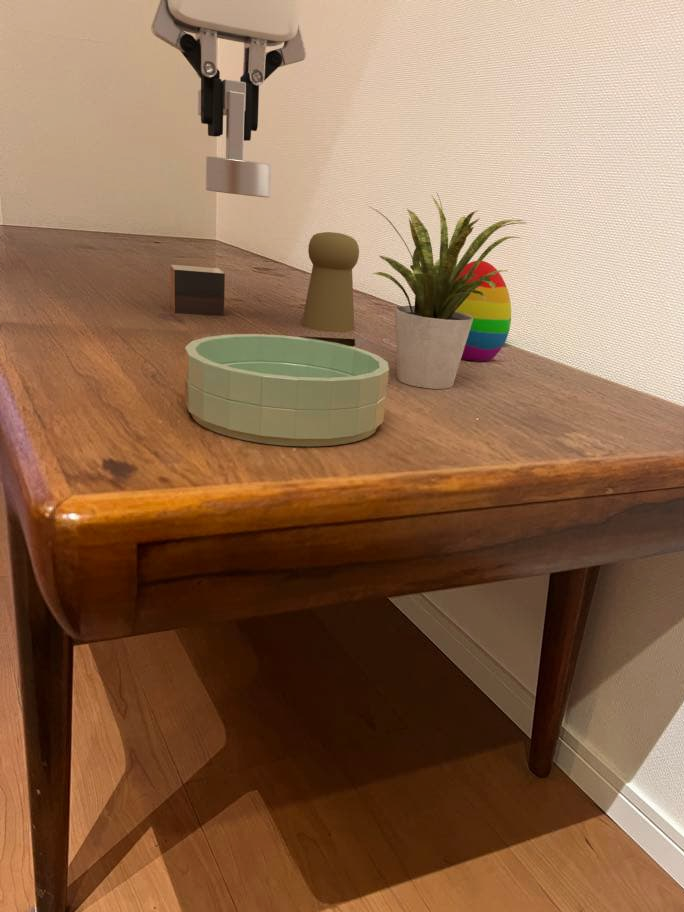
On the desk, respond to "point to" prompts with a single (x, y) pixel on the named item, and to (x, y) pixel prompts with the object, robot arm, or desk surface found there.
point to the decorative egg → (486, 314)
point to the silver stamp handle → (235, 151)
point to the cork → (331, 285)
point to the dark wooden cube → (197, 290)
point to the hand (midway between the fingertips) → (229, 136)
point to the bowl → (285, 389)
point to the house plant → (437, 302)
